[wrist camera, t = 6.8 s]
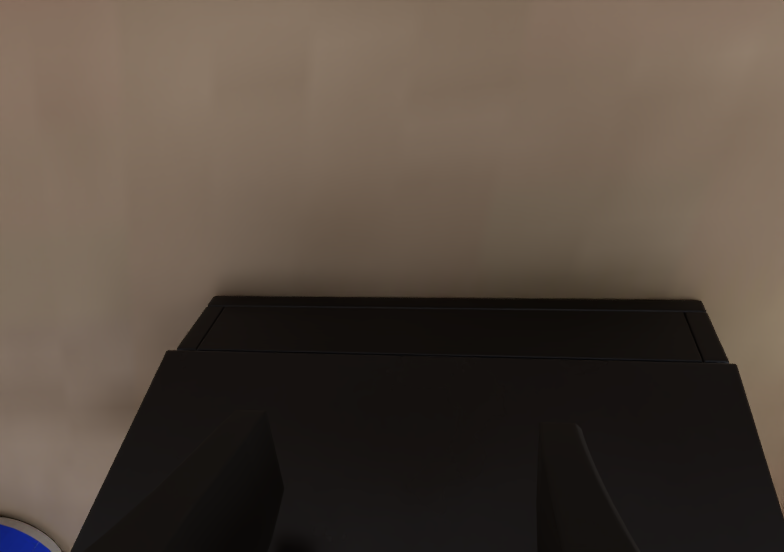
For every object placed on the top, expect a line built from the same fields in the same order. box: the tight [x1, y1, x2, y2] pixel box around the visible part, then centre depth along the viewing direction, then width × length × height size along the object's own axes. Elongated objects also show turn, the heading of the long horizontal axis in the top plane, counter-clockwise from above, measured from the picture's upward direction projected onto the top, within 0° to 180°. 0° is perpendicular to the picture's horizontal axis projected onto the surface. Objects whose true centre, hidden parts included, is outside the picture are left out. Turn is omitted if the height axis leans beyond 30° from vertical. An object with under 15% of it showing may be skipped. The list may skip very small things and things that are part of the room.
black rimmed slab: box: [177, 296, 729, 364], centre depth 21 cm, size 8×14×3 cm, turn 95°
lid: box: [71, 350, 784, 552], centre depth 13 cm, size 9×14×4 cm
